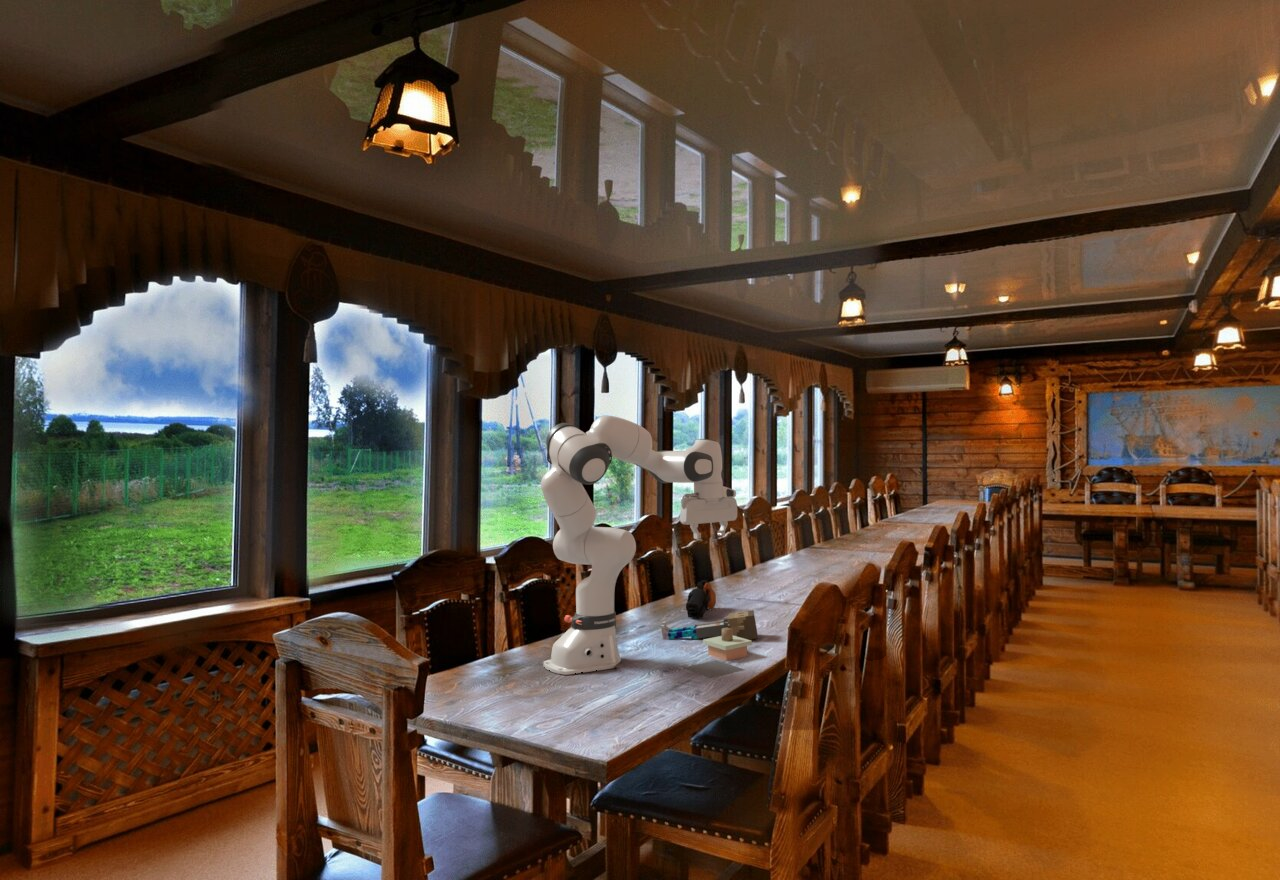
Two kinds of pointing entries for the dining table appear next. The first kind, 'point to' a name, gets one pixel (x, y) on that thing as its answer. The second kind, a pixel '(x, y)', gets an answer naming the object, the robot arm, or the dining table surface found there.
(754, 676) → the dining table surface
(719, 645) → the lid
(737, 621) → the toy
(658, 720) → the dining table surface
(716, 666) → the mat
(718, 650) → the orange square open box
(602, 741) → the dining table surface
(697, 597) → the tool
